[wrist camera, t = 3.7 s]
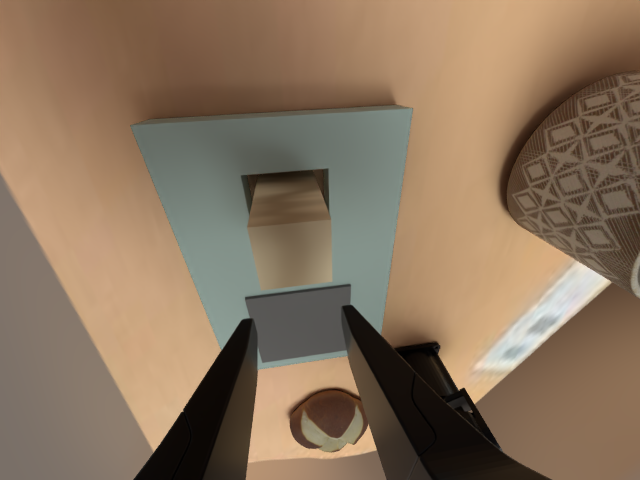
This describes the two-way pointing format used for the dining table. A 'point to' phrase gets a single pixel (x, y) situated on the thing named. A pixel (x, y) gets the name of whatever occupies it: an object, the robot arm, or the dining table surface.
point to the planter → (586, 179)
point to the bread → (329, 421)
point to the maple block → (290, 231)
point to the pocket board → (235, 205)
